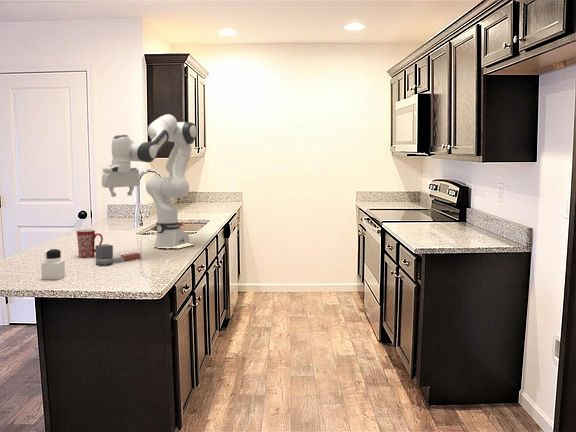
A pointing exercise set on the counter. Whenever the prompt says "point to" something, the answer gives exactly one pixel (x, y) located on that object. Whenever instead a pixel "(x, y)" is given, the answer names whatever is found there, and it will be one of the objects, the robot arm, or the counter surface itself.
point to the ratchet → (118, 259)
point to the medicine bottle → (53, 265)
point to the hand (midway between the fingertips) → (121, 196)
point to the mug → (87, 242)
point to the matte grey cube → (104, 251)
